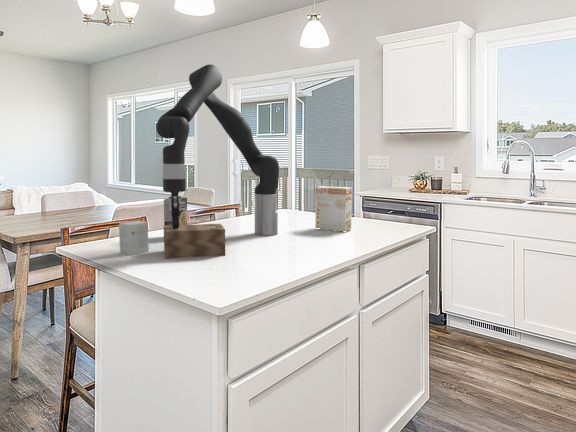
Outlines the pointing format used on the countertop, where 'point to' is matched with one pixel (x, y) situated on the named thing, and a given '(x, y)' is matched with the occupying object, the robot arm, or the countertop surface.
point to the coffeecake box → (333, 208)
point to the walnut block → (194, 241)
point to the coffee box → (182, 212)
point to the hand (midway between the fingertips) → (175, 228)
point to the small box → (133, 237)
